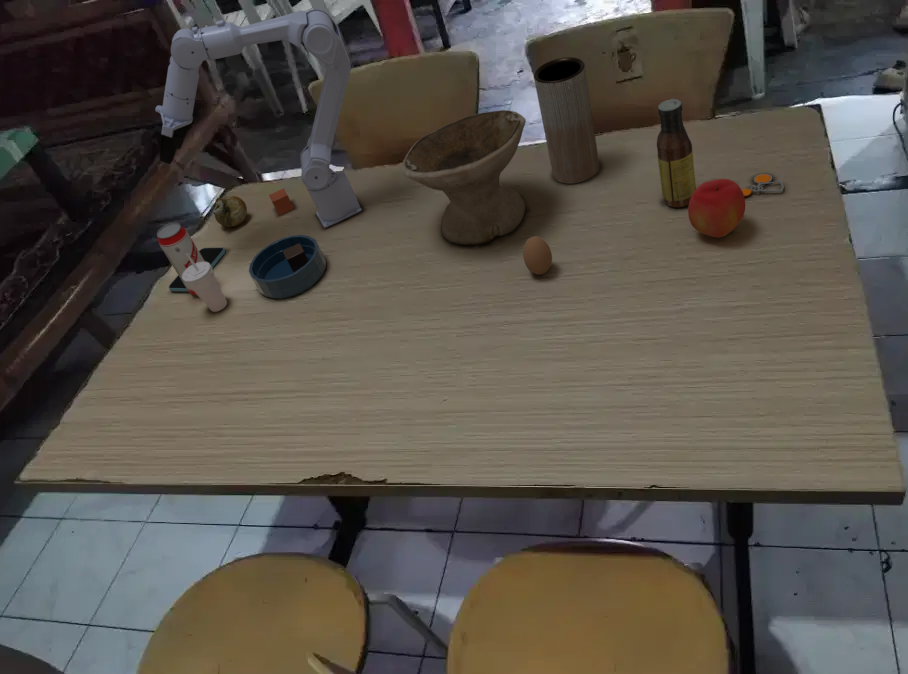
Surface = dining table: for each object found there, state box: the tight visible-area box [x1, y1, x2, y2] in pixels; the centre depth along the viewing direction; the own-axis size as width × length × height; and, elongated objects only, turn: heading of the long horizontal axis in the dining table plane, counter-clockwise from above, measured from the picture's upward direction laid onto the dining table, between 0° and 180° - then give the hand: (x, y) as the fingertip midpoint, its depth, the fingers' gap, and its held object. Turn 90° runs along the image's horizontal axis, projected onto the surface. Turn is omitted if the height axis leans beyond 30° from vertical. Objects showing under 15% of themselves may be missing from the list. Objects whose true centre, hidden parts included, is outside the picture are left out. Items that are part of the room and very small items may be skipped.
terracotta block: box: [268, 187, 295, 217], centre depth 178 cm, size 4×4×4 cm
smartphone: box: [167, 247, 226, 292], centre depth 169 cm, size 7×1×15 cm
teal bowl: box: [248, 234, 327, 300], centre depth 156 cm, size 15×15×5 cm
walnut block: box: [283, 243, 309, 273], centre depth 157 cm, size 4×4×4 cm
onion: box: [212, 195, 248, 228], centre depth 178 cm, size 8×8×8 cm
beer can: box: [156, 222, 205, 297], centre depth 157 cm, size 6×6×16 cm
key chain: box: [712, 173, 785, 197], centre depth 138 cm, size 13×7×1 cm, turn 76°
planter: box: [533, 56, 600, 185], centre depth 150 cm, size 10×10×23 cm
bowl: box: [401, 109, 527, 246], centre depth 147 cm, size 26×25×20 cm
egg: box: [522, 236, 553, 275], centre depth 135 cm, size 5×5×8 cm
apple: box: [687, 178, 746, 238], centre depth 129 cm, size 10×10×10 cm
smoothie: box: [182, 253, 228, 313], centre depth 152 cm, size 6×6×14 cm
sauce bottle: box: [656, 98, 697, 208], centre depth 135 cm, size 6×6×20 cm
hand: (170, 154), depth 154 cm, fingers open, 7 cm apart
